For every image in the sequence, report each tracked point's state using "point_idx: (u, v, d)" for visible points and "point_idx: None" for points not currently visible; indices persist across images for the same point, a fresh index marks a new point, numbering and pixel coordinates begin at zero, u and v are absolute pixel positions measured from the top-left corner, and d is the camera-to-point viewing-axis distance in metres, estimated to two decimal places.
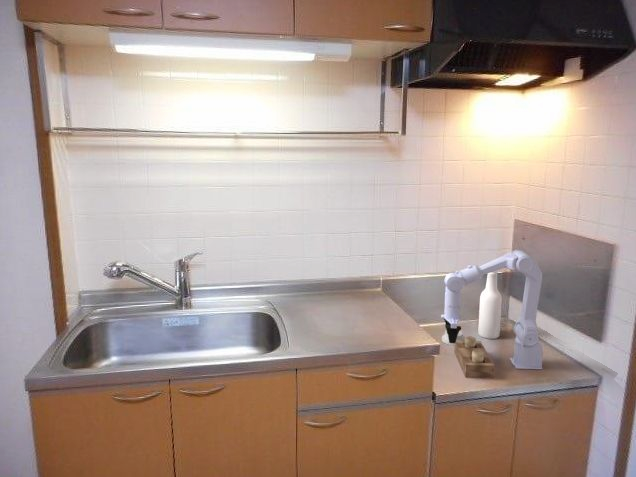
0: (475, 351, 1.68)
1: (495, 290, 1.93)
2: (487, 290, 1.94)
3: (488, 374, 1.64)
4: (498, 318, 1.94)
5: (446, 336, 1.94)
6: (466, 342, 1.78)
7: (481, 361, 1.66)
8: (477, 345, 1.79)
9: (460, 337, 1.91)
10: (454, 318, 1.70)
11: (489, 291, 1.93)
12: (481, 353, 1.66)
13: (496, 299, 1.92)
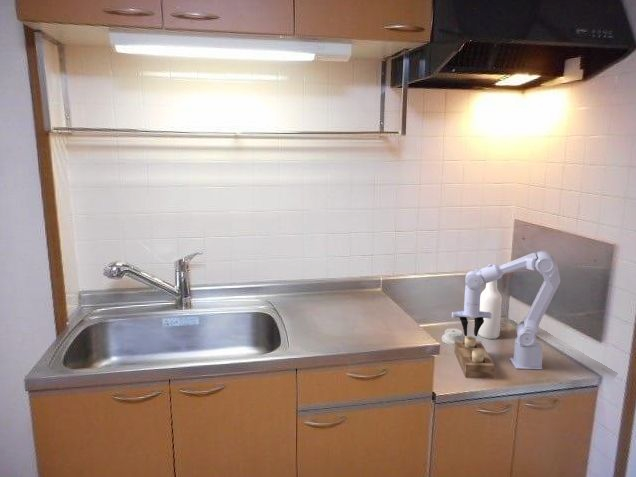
0: (475, 351, 1.68)
1: (495, 290, 1.93)
2: (487, 290, 1.94)
3: (488, 374, 1.64)
4: (498, 318, 1.94)
5: (446, 336, 1.94)
6: (466, 342, 1.78)
7: (481, 361, 1.66)
8: (477, 345, 1.79)
9: (460, 337, 1.92)
10: (464, 313, 1.76)
11: (489, 291, 1.93)
12: (481, 353, 1.66)
13: (496, 299, 1.92)
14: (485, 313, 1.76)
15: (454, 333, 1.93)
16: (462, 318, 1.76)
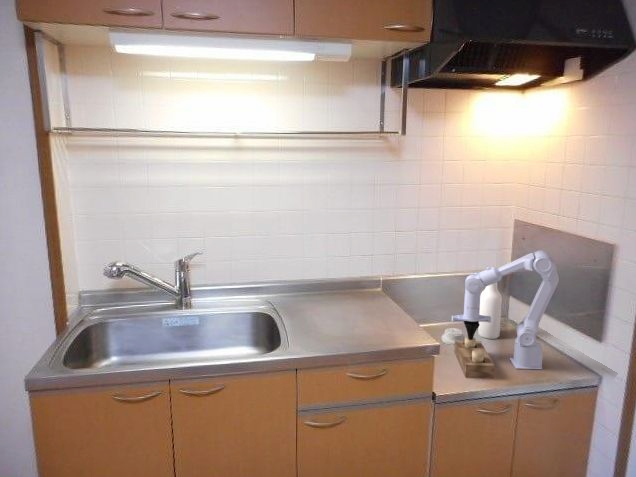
0: (475, 351, 1.68)
1: (495, 290, 1.93)
2: (487, 290, 1.94)
3: (488, 374, 1.64)
4: (498, 318, 1.94)
5: (446, 336, 1.94)
6: (466, 342, 1.78)
7: (481, 361, 1.66)
8: (477, 345, 1.79)
9: (460, 337, 1.92)
10: (464, 316, 1.76)
11: (489, 291, 1.93)
12: (481, 353, 1.66)
13: (496, 299, 1.92)
14: (485, 317, 1.76)
15: (454, 333, 1.93)
16: None
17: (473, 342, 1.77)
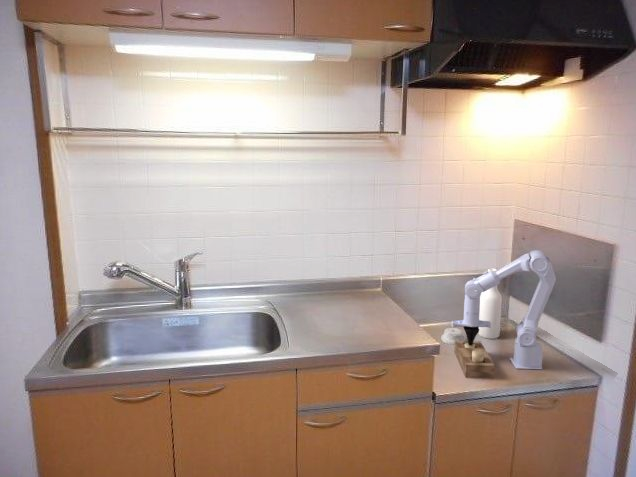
0: (475, 351, 1.68)
1: (495, 290, 1.93)
2: (487, 290, 1.94)
3: (488, 374, 1.64)
4: (498, 318, 1.94)
5: (445, 335, 1.94)
6: None
7: (481, 361, 1.66)
8: (477, 345, 1.79)
9: (459, 336, 1.92)
10: (464, 322, 1.77)
11: (489, 291, 1.93)
12: (481, 353, 1.66)
13: (496, 299, 1.92)
14: (485, 322, 1.77)
15: (453, 333, 1.93)
16: None
17: None
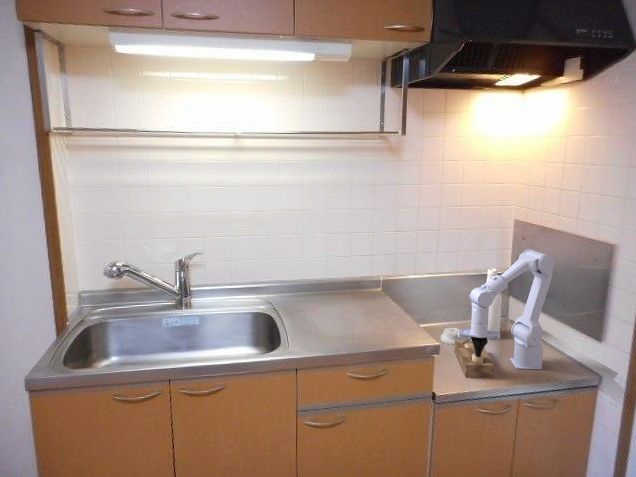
0: None
1: None
2: None
3: (488, 374, 1.64)
4: (498, 318, 1.94)
5: (445, 335, 1.95)
6: None
7: None
8: None
9: None
10: (471, 332, 1.65)
11: None
12: (481, 356, 1.66)
13: (496, 299, 1.92)
14: (493, 333, 1.65)
15: (453, 332, 1.93)
16: None
17: None
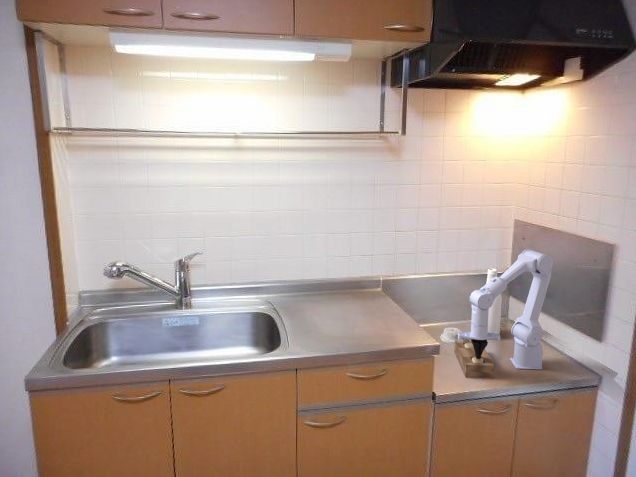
0: (475, 358, 1.68)
1: None
2: None
3: (488, 374, 1.64)
4: (498, 318, 1.94)
5: (445, 335, 1.95)
6: None
7: None
8: None
9: None
10: (471, 334, 1.65)
11: None
12: (481, 360, 1.67)
13: (496, 299, 1.92)
14: (493, 335, 1.65)
15: (453, 332, 1.94)
16: None
17: None
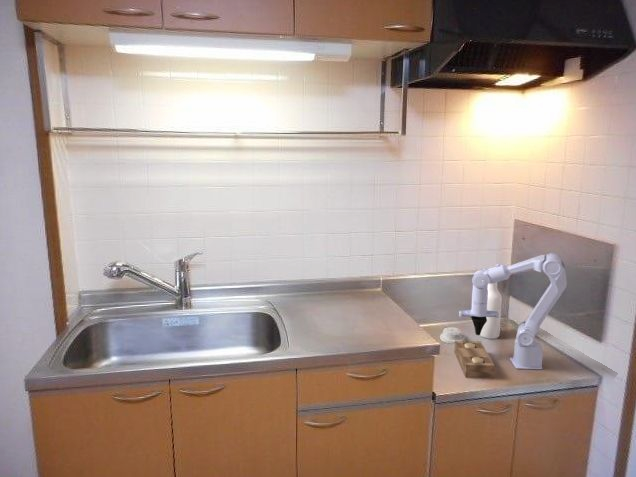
0: (475, 358, 1.68)
1: (495, 290, 1.93)
2: None
3: (488, 374, 1.64)
4: (498, 318, 1.94)
5: (444, 334, 1.95)
6: None
7: None
8: (477, 345, 1.79)
9: (458, 335, 1.93)
10: (471, 312, 1.77)
11: (489, 291, 1.93)
12: (481, 360, 1.67)
13: (496, 299, 1.92)
14: (492, 312, 1.76)
15: (452, 332, 1.94)
16: None
17: None
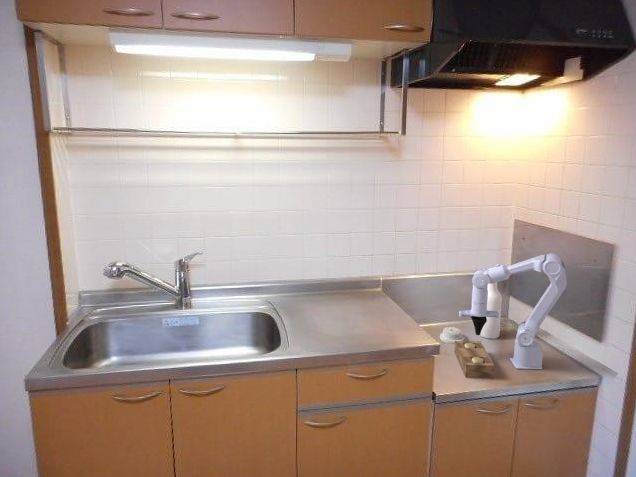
0: (475, 358, 1.68)
1: (495, 290, 1.93)
2: None
3: (488, 374, 1.64)
4: (498, 318, 1.94)
5: (444, 334, 1.95)
6: None
7: None
8: (477, 345, 1.79)
9: (458, 335, 1.93)
10: (471, 312, 1.77)
11: (489, 291, 1.93)
12: (481, 360, 1.67)
13: (496, 299, 1.92)
14: (492, 312, 1.76)
15: (452, 332, 1.94)
16: None
17: None
